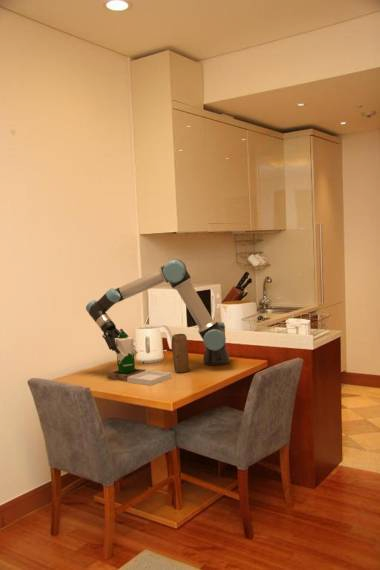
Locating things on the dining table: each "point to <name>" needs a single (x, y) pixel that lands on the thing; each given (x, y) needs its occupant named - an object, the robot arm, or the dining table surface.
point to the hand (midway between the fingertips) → (130, 355)
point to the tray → (149, 377)
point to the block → (180, 353)
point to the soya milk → (127, 348)
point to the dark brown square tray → (119, 376)
